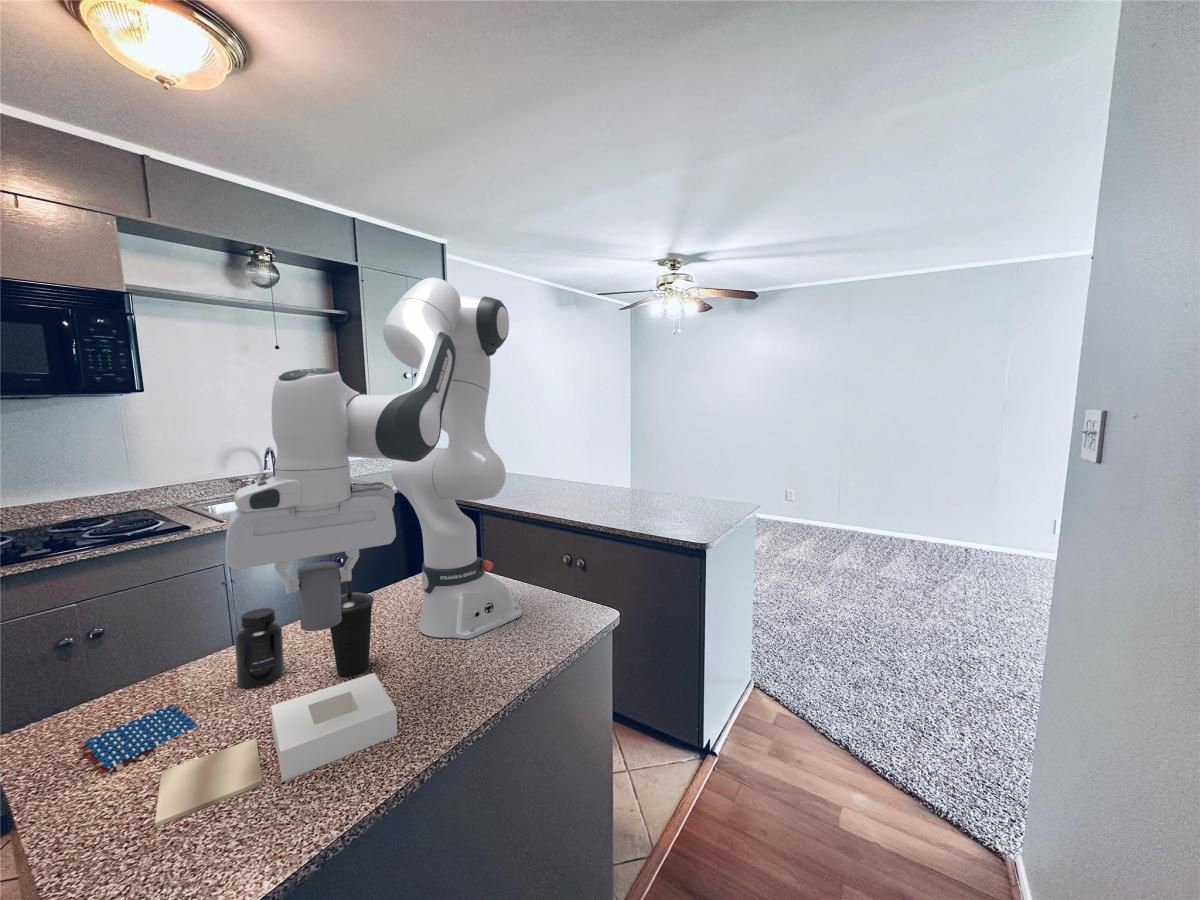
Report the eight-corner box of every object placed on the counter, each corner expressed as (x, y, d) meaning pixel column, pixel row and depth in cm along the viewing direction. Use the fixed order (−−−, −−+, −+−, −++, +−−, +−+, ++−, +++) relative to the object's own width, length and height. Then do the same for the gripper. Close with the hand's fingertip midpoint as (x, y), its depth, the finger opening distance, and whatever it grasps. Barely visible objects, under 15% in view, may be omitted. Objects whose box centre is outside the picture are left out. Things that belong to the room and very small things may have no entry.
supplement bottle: (260, 691, 83) (256, 623, 82) (227, 686, 84) (222, 619, 83) (293, 670, 89) (289, 606, 88) (262, 665, 91) (258, 603, 90)
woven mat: (78, 753, 69) (76, 740, 69) (173, 713, 78) (172, 701, 78) (101, 784, 63) (100, 769, 63) (201, 736, 72) (200, 723, 72)
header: (375, 701, 80) (374, 672, 79) (397, 741, 71) (396, 708, 70) (273, 738, 71) (270, 705, 71) (282, 788, 62) (280, 751, 61)
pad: (256, 747, 69) (256, 737, 69) (263, 791, 61) (262, 780, 61) (162, 781, 63) (161, 770, 63) (156, 835, 55) (154, 822, 55)
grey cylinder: (337, 612, 72) (335, 559, 71) (345, 624, 68) (342, 568, 67) (298, 621, 69) (295, 566, 68) (303, 634, 65) (300, 576, 64)
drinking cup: (345, 692, 83) (339, 577, 81) (320, 678, 87) (314, 569, 85) (385, 671, 89) (381, 564, 87) (360, 659, 93) (356, 557, 91)
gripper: (387, 478, 76) (390, 565, 77) (220, 492, 63) (228, 596, 64) (400, 483, 71) (403, 576, 72) (222, 499, 58) (229, 612, 59)
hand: (319, 585), depth 68 cm, fingers closed on grey cylinder, 5 cm apart
